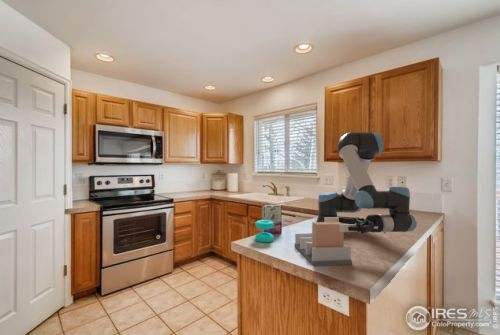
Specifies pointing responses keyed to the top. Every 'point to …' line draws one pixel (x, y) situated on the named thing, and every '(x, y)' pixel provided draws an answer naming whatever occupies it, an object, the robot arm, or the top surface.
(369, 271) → the top surface
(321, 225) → the terracotta tile
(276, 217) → the candy bar box
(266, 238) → the donuts
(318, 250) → the dish rack
